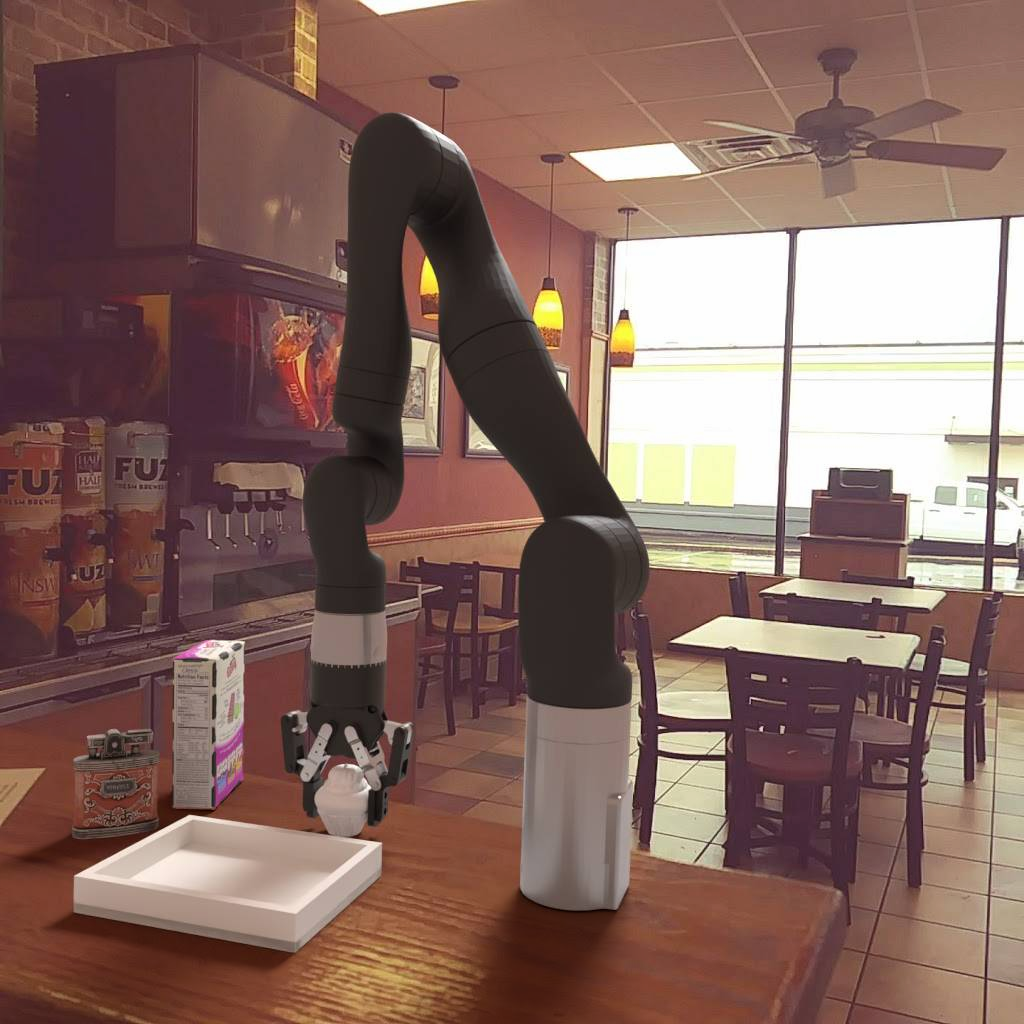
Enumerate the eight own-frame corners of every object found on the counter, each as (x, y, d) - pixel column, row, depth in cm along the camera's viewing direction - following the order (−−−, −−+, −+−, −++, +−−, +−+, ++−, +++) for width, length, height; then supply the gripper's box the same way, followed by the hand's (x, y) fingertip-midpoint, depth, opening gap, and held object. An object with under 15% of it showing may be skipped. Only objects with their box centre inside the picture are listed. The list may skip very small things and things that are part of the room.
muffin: (310, 823, 106) (312, 756, 106) (369, 819, 108) (371, 753, 108) (317, 845, 100) (319, 773, 100) (379, 840, 102) (382, 770, 102)
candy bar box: (201, 779, 120) (204, 638, 120) (244, 780, 120) (247, 640, 119) (167, 810, 109) (170, 655, 108) (214, 812, 109) (218, 657, 108)
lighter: (73, 841, 99) (75, 738, 99) (70, 830, 102) (72, 730, 102) (161, 830, 103) (163, 731, 103) (155, 820, 106) (157, 723, 106)
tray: (381, 875, 93) (382, 842, 93) (295, 952, 78) (295, 913, 78) (188, 845, 99) (189, 814, 99) (73, 912, 84) (74, 875, 84)
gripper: (429, 654, 105) (424, 817, 106) (302, 643, 109) (298, 800, 110) (401, 667, 98) (395, 842, 99) (265, 655, 102) (261, 822, 103)
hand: (344, 819), depth 104 cm, fingers closed on muffin, 6 cm apart
